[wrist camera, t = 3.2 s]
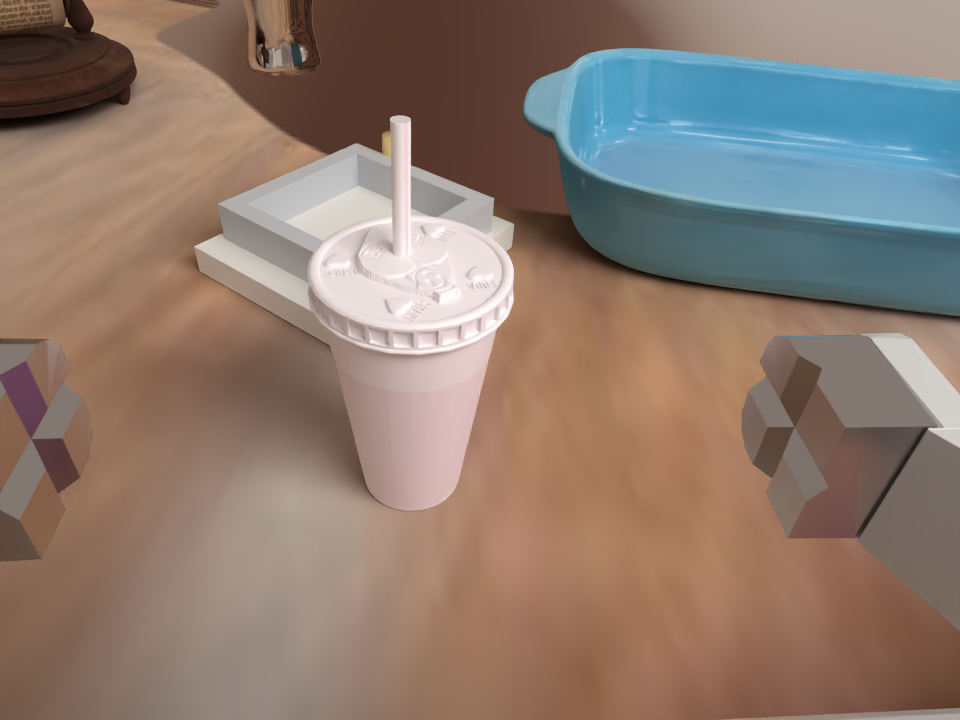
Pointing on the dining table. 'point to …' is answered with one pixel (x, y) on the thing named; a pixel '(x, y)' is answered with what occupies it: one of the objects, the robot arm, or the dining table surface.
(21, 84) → the brown spool stand
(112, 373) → the dining table surface
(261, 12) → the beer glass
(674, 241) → the casserole dish
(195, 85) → the dining table surface
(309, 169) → the collar plate
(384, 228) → the smoothie
